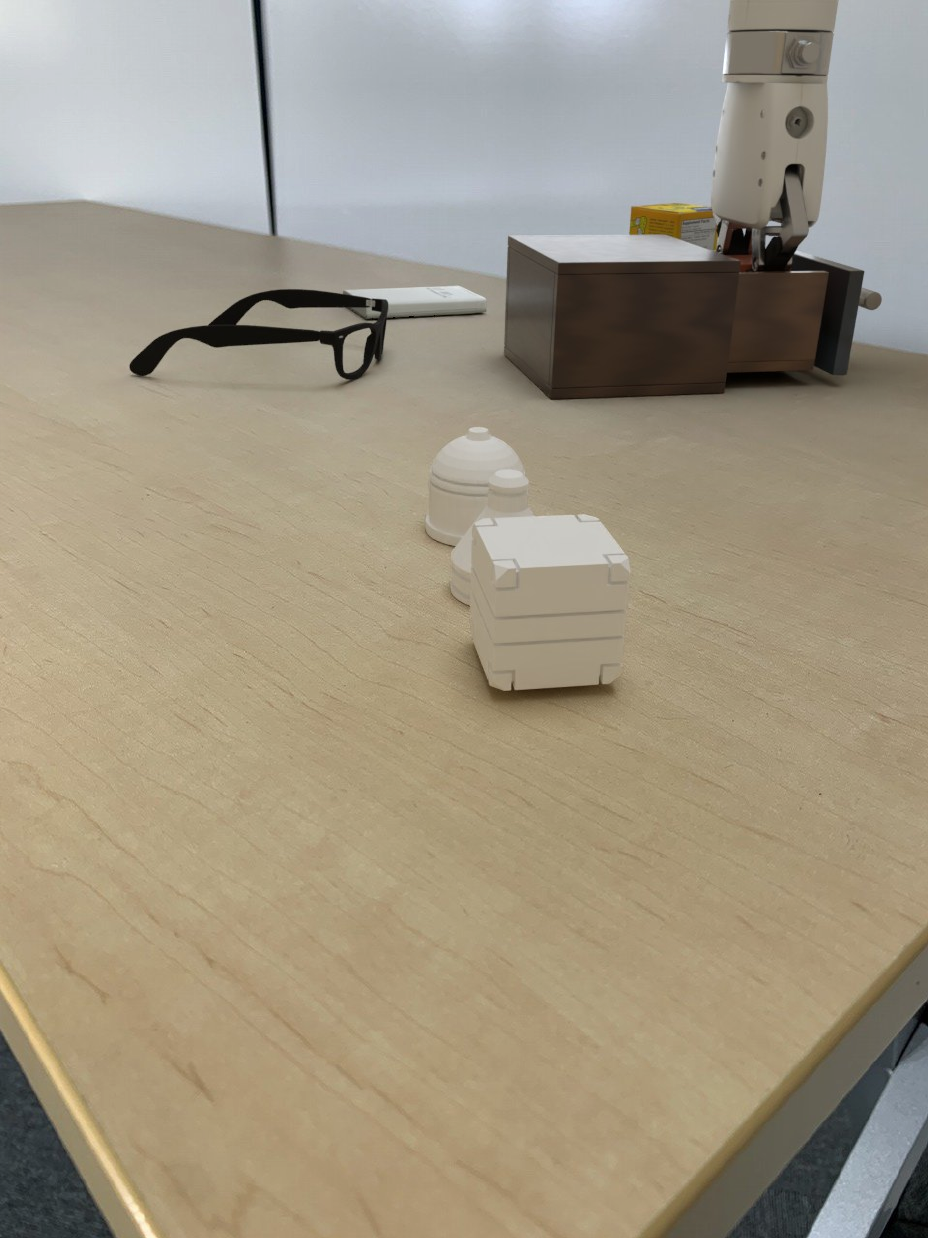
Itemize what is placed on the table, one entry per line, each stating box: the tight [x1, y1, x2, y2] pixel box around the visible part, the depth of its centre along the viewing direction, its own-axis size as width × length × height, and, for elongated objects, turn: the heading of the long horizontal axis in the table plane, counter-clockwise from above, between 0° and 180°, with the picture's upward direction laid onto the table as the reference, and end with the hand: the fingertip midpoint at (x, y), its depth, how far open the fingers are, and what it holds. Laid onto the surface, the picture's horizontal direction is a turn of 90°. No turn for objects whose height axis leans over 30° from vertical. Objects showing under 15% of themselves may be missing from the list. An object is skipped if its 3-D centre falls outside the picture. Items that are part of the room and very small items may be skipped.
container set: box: [424, 426, 632, 692], centre depth 49 cm, size 20×5×6 cm, turn 10°
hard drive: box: [342, 285, 488, 320], centre depth 110 cm, size 2×8×12 cm
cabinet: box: [503, 234, 741, 400], centre depth 86 cm, size 14×15×10 cm
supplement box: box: [628, 202, 719, 250], centre depth 102 cm, size 6×6×11 cm
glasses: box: [128, 288, 388, 381], centre depth 88 cm, size 17×18×5 cm
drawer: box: [711, 249, 883, 376], centre depth 88 cm, size 17×13×8 cm
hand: (745, 313), depth 88 cm, fingers closed on block, 4 cm apart
